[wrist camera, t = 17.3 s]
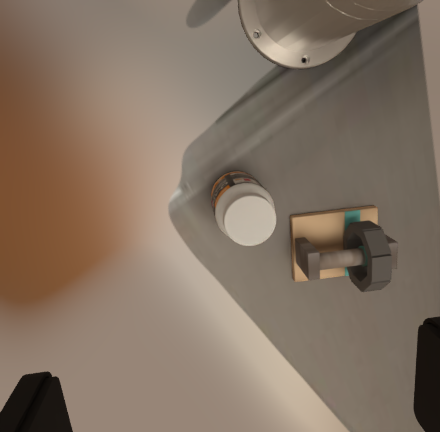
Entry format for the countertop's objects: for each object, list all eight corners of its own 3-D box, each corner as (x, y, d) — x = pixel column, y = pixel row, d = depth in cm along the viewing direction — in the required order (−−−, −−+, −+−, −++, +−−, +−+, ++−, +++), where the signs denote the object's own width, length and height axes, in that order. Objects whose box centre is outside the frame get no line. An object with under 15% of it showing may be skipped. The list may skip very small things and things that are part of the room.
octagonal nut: (343, 216, 43) (372, 236, 37) (360, 214, 43) (392, 234, 37) (343, 273, 45) (371, 301, 39) (359, 270, 45) (390, 299, 39)
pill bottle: (210, 170, 42) (217, 189, 32) (262, 170, 42) (284, 188, 33) (210, 220, 43) (217, 252, 34) (260, 219, 44) (280, 250, 34)
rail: (289, 215, 44) (305, 231, 38) (373, 205, 45) (401, 219, 39) (292, 278, 46) (308, 302, 41) (372, 268, 47) (398, 290, 41)
